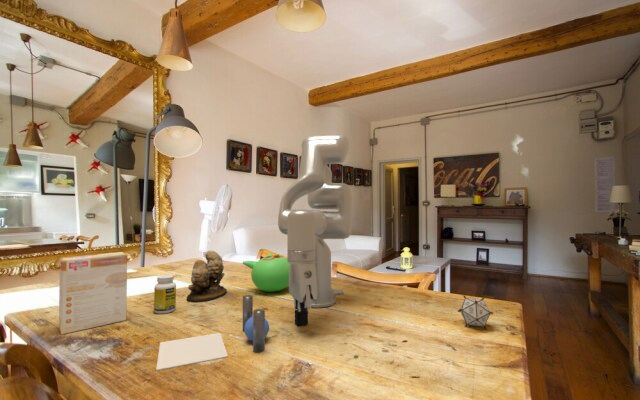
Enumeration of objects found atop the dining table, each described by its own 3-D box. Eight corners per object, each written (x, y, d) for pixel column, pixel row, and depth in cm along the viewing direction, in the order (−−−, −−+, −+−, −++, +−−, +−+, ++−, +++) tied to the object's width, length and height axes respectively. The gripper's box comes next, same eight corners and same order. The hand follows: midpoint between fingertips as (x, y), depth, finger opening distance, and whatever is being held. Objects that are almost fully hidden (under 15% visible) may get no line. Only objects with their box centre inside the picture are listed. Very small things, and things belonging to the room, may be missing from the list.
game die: (478, 338, 87) (497, 308, 88) (483, 338, 80) (503, 305, 81) (449, 317, 91) (467, 289, 93) (450, 315, 84) (470, 285, 85)
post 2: (263, 346, 73) (263, 308, 74) (265, 351, 71) (265, 311, 71) (252, 348, 72) (252, 309, 73) (254, 353, 70) (254, 313, 70)
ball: (243, 340, 78) (266, 332, 81) (250, 348, 73) (274, 339, 76) (240, 317, 78) (262, 309, 81) (246, 323, 73) (270, 315, 76)
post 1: (251, 327, 85) (251, 294, 86) (253, 330, 83) (253, 296, 83) (241, 328, 84) (242, 295, 84) (243, 332, 82) (243, 298, 82)
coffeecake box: (121, 314, 96) (122, 251, 96) (127, 320, 91) (128, 253, 91) (57, 327, 85) (59, 256, 86) (60, 335, 80) (62, 259, 81)
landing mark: (220, 333, 81) (220, 332, 81) (227, 356, 68) (227, 355, 68) (160, 343, 75) (160, 342, 75) (156, 370, 63) (156, 369, 63)
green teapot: (273, 299, 112) (273, 258, 112) (240, 292, 121) (240, 254, 121) (302, 288, 127) (302, 252, 127) (271, 283, 136) (271, 249, 136)
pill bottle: (166, 315, 95) (167, 278, 96) (149, 313, 97) (149, 278, 97) (179, 308, 101) (180, 274, 102) (163, 307, 103) (163, 273, 103)
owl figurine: (208, 288, 127) (209, 247, 127) (234, 291, 124) (235, 248, 124) (178, 301, 109) (179, 252, 110) (207, 304, 106) (208, 254, 107)
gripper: (325, 259, 78) (326, 333, 78) (304, 252, 92) (304, 314, 91) (297, 261, 75) (297, 338, 75) (279, 253, 89) (279, 318, 88)
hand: (301, 325), depth 83 cm, fingers closed
